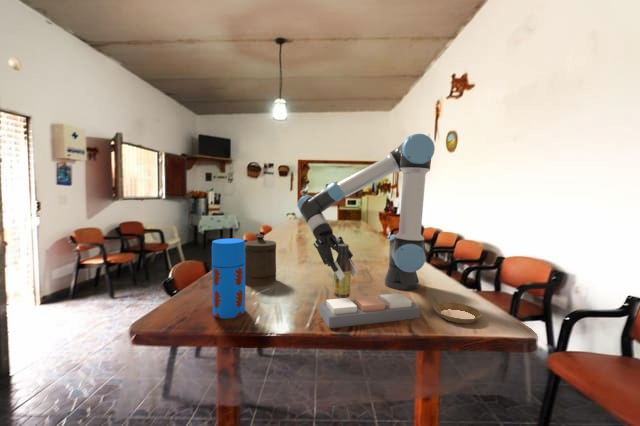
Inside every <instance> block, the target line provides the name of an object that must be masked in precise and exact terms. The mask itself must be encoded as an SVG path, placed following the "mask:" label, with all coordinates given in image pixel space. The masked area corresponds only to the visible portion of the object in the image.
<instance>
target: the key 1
mask: <svg viewBox="0 0 640 426" xmlns="http://www.w3.org/2000/svg"><path fill="white" fill-rule="evenodd" d="M351 300H352V299H350V298H349V297H347V298H333V299H331V298H330V299H326V301H325V303H326V307H327V308H328V309H329V311H330V312H331V313H332V315H335V314H345V313H355V312H357V306H356V305H355V304H354V303H353V302H352V301H351Z"/></svg>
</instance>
